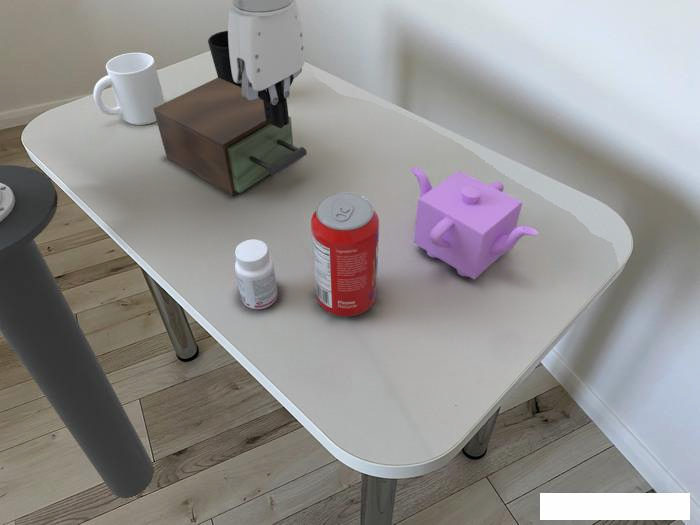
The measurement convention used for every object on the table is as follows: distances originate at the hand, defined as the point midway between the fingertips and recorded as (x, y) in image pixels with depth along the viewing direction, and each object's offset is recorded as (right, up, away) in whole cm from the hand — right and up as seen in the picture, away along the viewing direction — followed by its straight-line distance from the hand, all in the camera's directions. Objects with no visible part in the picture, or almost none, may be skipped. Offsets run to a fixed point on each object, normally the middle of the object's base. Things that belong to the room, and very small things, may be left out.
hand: (277, 123), depth 84 cm
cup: (-11, +12, +29) cm, 33 cm away
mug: (-30, +7, +24) cm, 39 cm away
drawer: (-6, -4, +11) cm, 14 cm away
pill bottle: (-1, -25, -9) cm, 27 cm away
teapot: (+26, -19, -3) cm, 33 cm away
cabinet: (-10, -3, +14) cm, 17 cm away
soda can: (+10, -25, -9) cm, 29 cm away
